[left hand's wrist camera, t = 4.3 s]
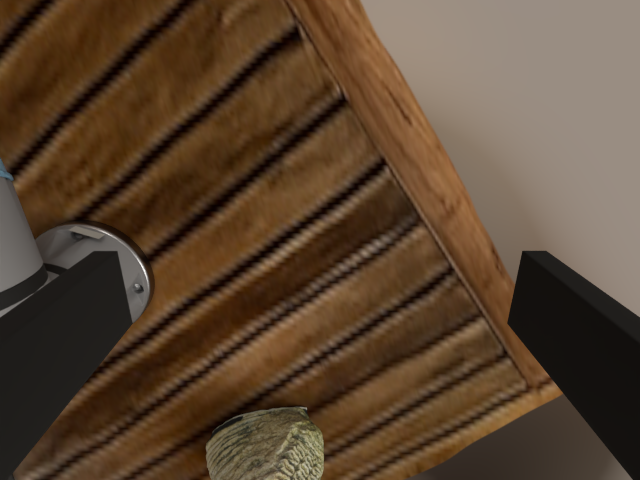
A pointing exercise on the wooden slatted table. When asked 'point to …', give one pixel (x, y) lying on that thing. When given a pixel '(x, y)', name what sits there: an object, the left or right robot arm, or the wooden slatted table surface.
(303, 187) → the wooden slatted table surface
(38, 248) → the left robot arm
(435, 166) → the wooden slatted table surface
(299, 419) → the fossil
